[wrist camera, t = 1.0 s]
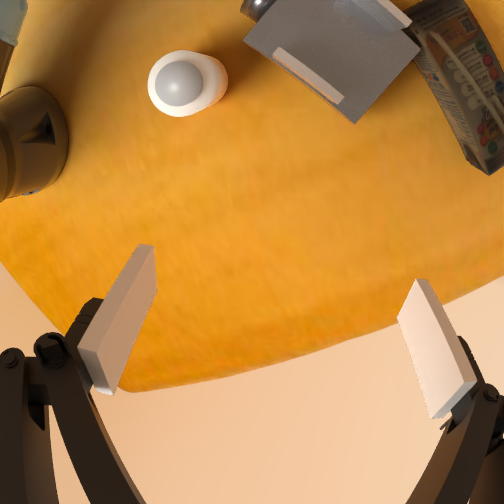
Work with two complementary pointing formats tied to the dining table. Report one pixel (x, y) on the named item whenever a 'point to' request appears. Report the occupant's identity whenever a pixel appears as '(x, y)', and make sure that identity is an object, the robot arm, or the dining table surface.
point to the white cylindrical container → (186, 82)
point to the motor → (334, 46)
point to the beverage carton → (461, 77)
